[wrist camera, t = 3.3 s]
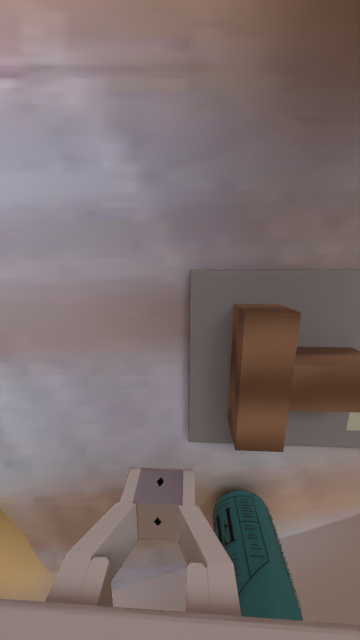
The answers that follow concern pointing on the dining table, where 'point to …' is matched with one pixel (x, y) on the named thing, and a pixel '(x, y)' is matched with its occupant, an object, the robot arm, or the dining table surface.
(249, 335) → the t block
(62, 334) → the dining table surface
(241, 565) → the beverage bottle
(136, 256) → the dining table surface
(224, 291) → the board
